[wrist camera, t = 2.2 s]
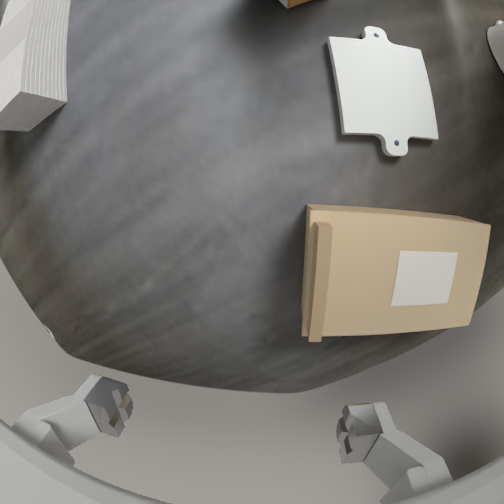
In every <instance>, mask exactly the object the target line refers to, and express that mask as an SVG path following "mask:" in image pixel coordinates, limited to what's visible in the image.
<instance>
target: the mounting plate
mask: <svg viewBox="0 0 504 504" xmlns="http://www.w3.org/2000/svg"><path fill="white" fill-rule="evenodd" d="M327 44H328V48H329V53H330V58H331V64H332V69H333V75H334V81H335V87H336V93H337V100H338V107H339V114H340V123H341V131H342V135H374V136H377V137H378V138H379V139H380V141H381V147H382V151H383V153H384V154H385V155H387V156H396V157H397V156H404V155H405V154H406V153H407V151H408V144H407V142H408V139H409V138H416V139H426V140H437V139H438V131H437V124H436V117H435V111H434V105H433V99H432V94H431V89H430V85H429V80H428V76H427V72H426V68H425V64H424V61H423V57H422V54H421V50H419V49H415V48H410V47H406V46H401V45H396V44H393V43H391V42H390V41H389V40H388V39H387V36H386V34H385V32H384V31H383V30H382V29H380V28H378V27H372V26H367V27H365V29H364V31H363V32H362V39H353V38H342V37H329V38H328V41H327Z"/></svg>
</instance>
